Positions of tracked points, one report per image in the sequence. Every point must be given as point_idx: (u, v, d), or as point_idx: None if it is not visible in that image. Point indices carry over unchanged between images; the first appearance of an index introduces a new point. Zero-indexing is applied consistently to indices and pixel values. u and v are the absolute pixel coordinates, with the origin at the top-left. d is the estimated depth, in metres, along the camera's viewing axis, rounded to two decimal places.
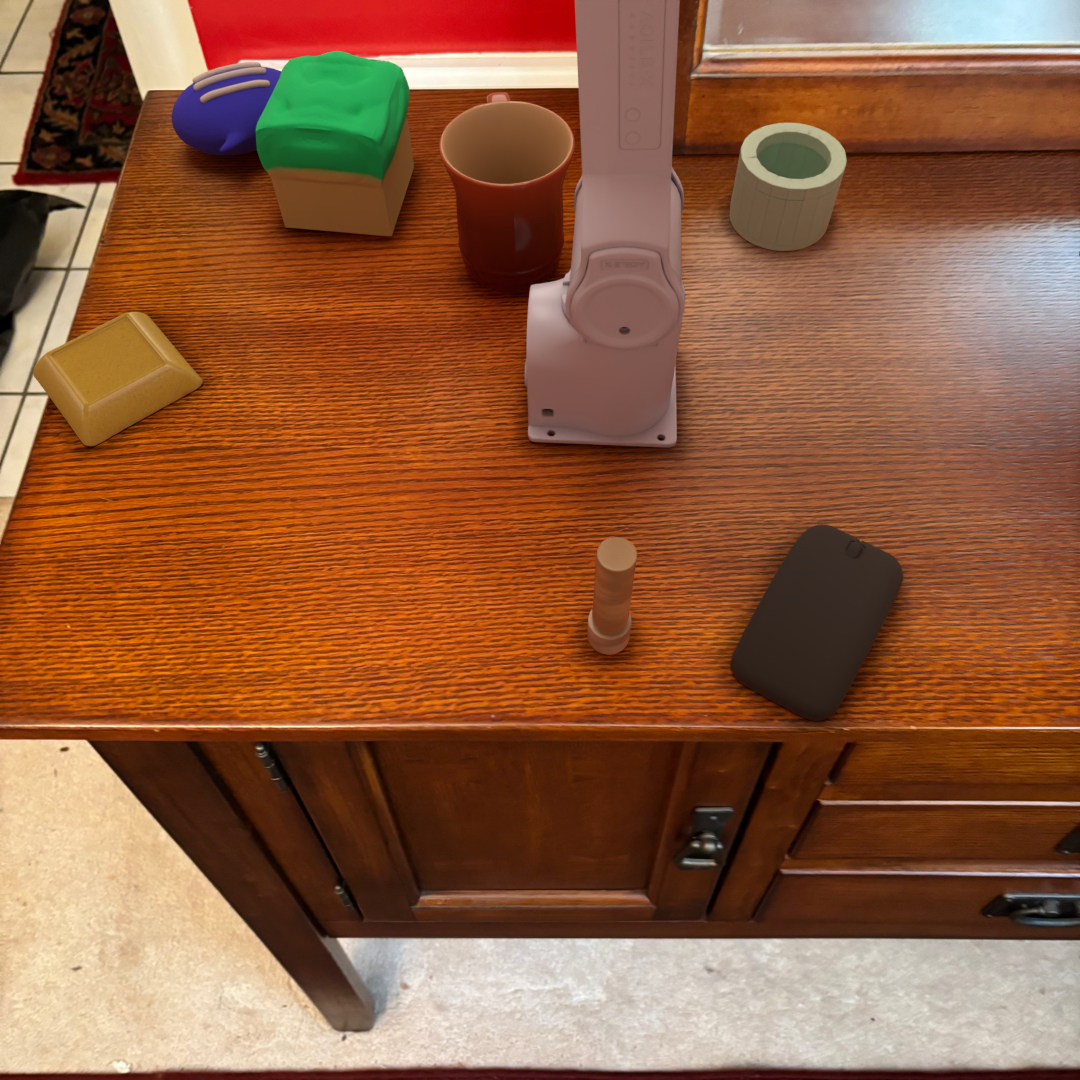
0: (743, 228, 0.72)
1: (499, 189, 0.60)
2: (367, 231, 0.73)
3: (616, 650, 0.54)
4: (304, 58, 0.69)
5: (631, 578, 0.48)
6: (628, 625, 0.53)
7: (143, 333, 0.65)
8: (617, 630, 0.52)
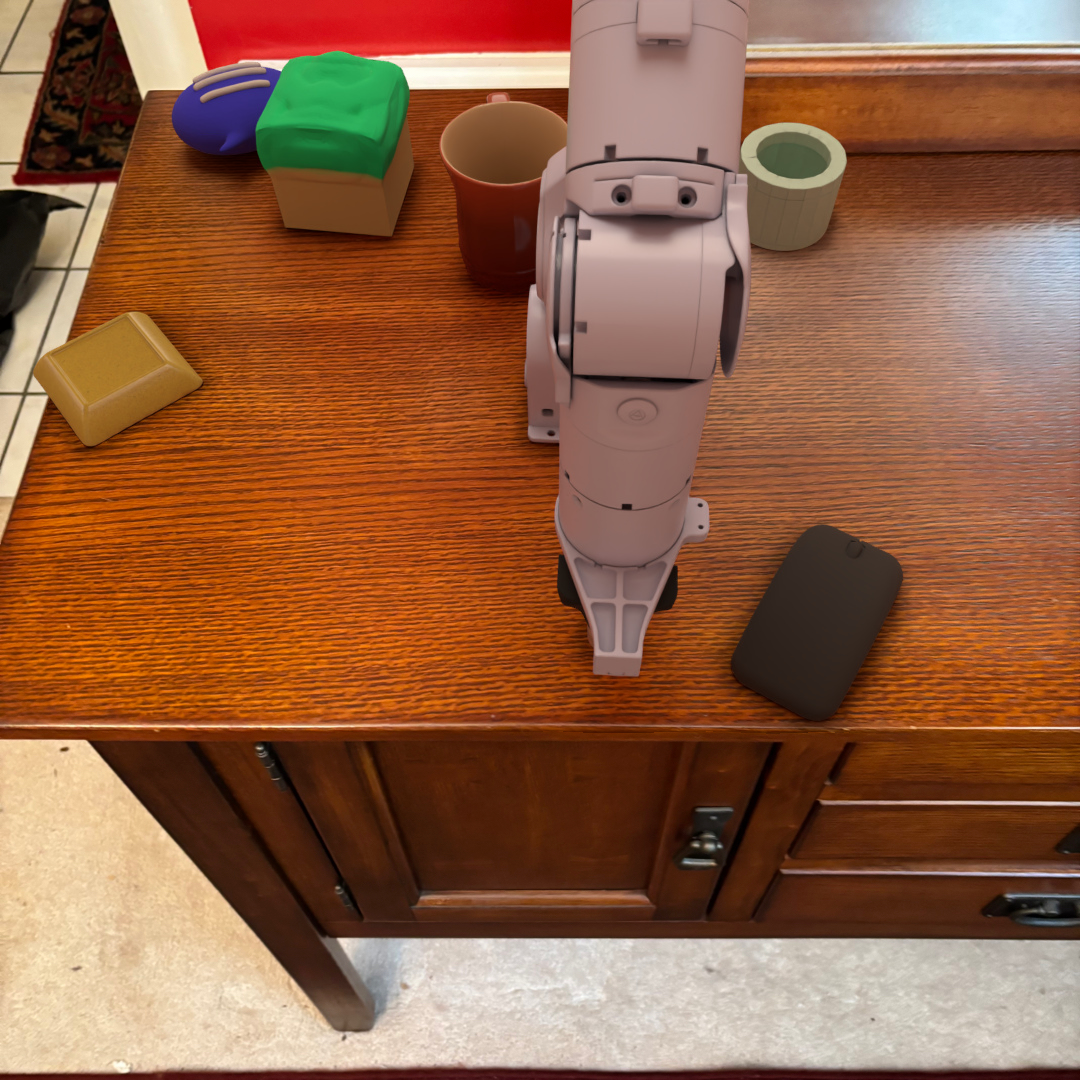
0: None
1: (499, 189, 0.60)
2: (367, 231, 0.73)
3: None
4: (304, 58, 0.69)
5: None
6: None
7: (143, 333, 0.65)
8: None
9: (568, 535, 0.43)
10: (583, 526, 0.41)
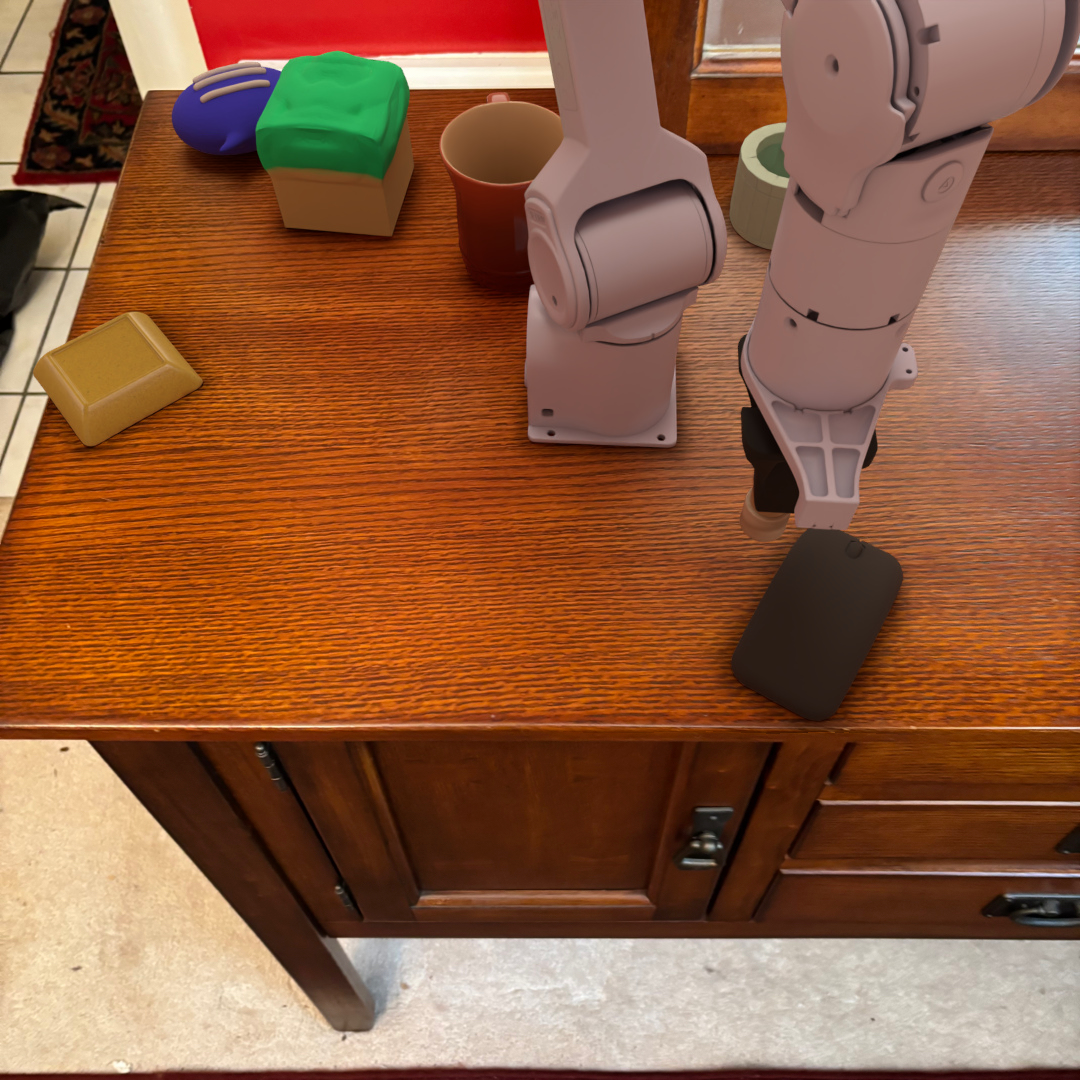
0: (743, 228, 0.72)
1: (499, 189, 0.60)
2: (367, 231, 0.73)
3: (774, 536, 0.50)
4: (304, 58, 0.69)
5: None
6: None
7: (143, 333, 0.65)
8: None
9: (764, 377, 0.39)
10: (791, 358, 0.37)
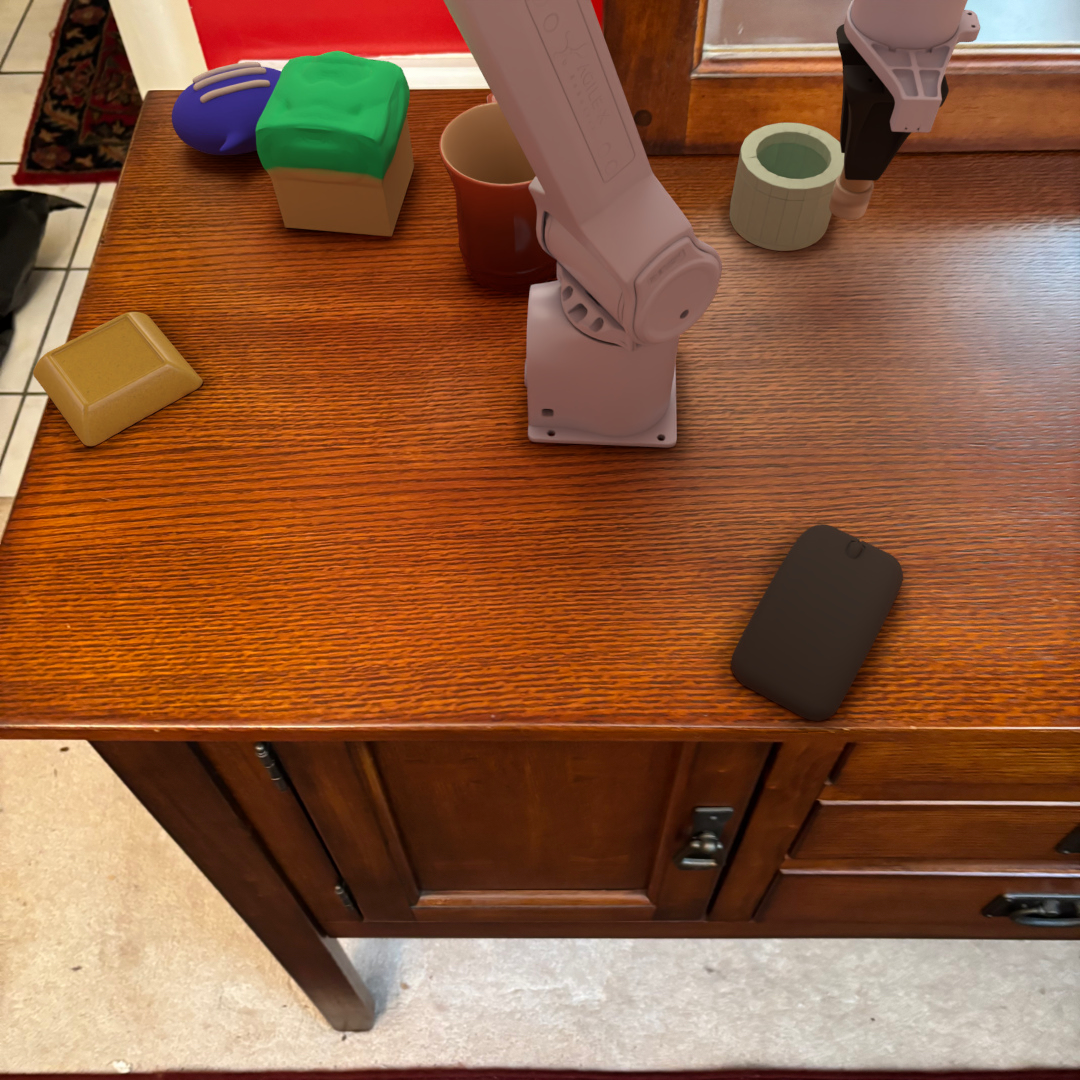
0: (743, 228, 0.72)
1: (499, 189, 0.60)
2: (367, 231, 0.73)
3: (858, 213, 0.62)
4: (304, 58, 0.69)
5: None
6: (871, 186, 0.62)
7: (143, 333, 0.65)
8: (865, 185, 0.61)
9: (865, 27, 0.52)
10: None
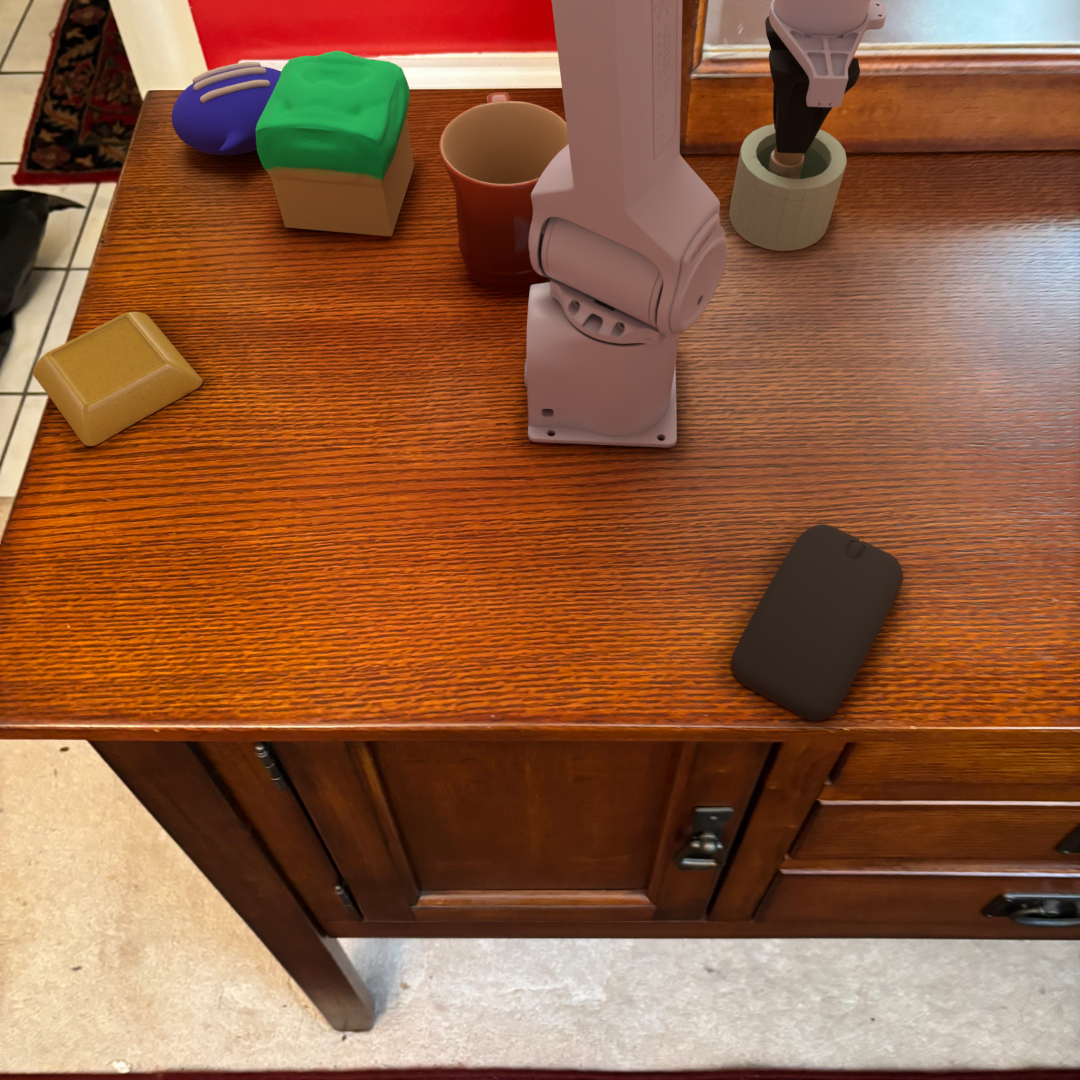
0: (743, 228, 0.72)
1: (499, 189, 0.60)
2: (367, 231, 0.73)
3: None
4: (304, 58, 0.69)
5: None
6: (802, 159, 0.69)
7: (143, 333, 0.65)
8: (795, 157, 0.69)
9: (785, 16, 0.59)
10: None
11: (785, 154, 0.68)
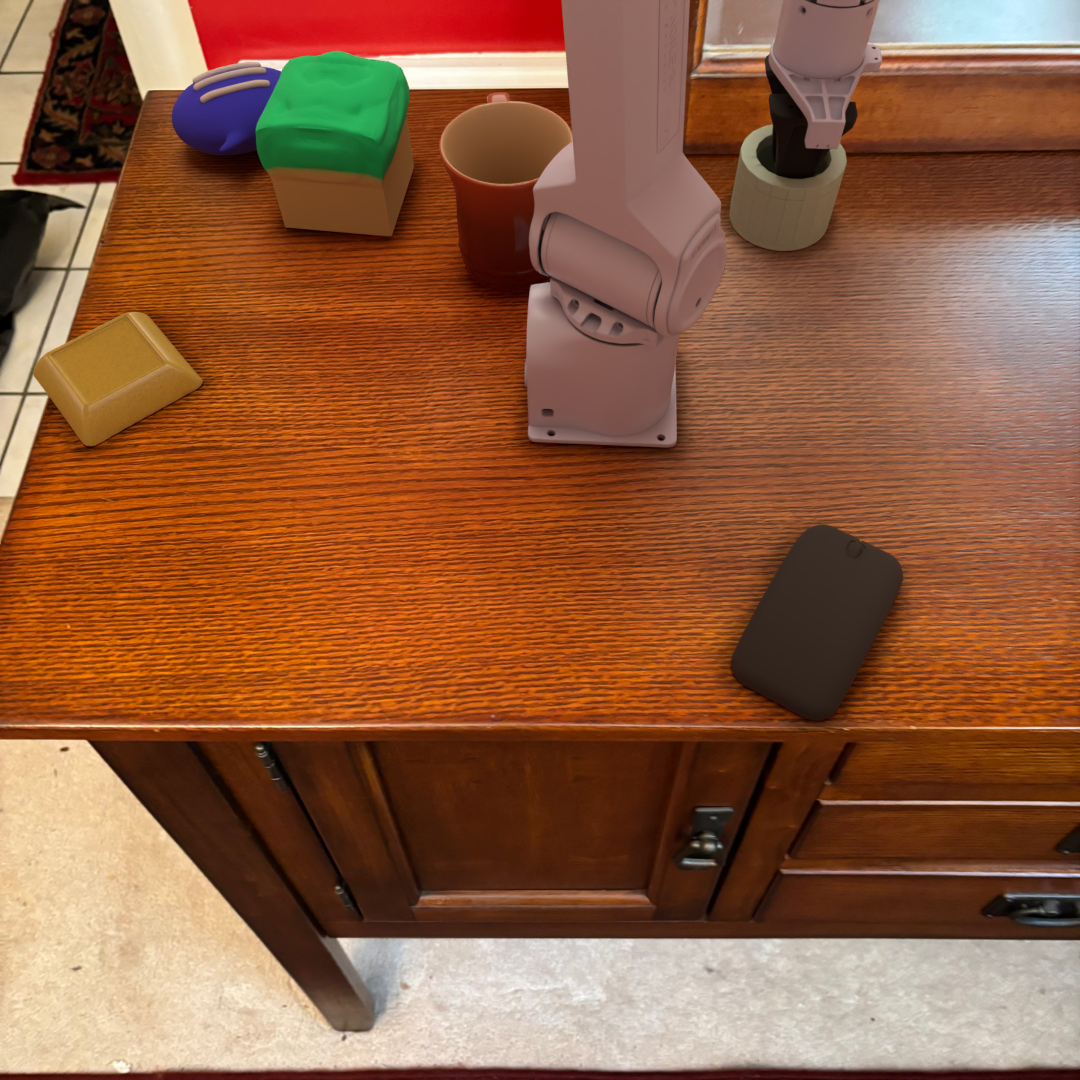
0: (743, 228, 0.72)
1: (499, 189, 0.60)
2: (367, 231, 0.73)
3: None
4: (304, 58, 0.69)
5: None
6: None
7: (143, 333, 0.65)
8: None
9: (784, 60, 0.61)
10: (802, 38, 0.59)
11: None
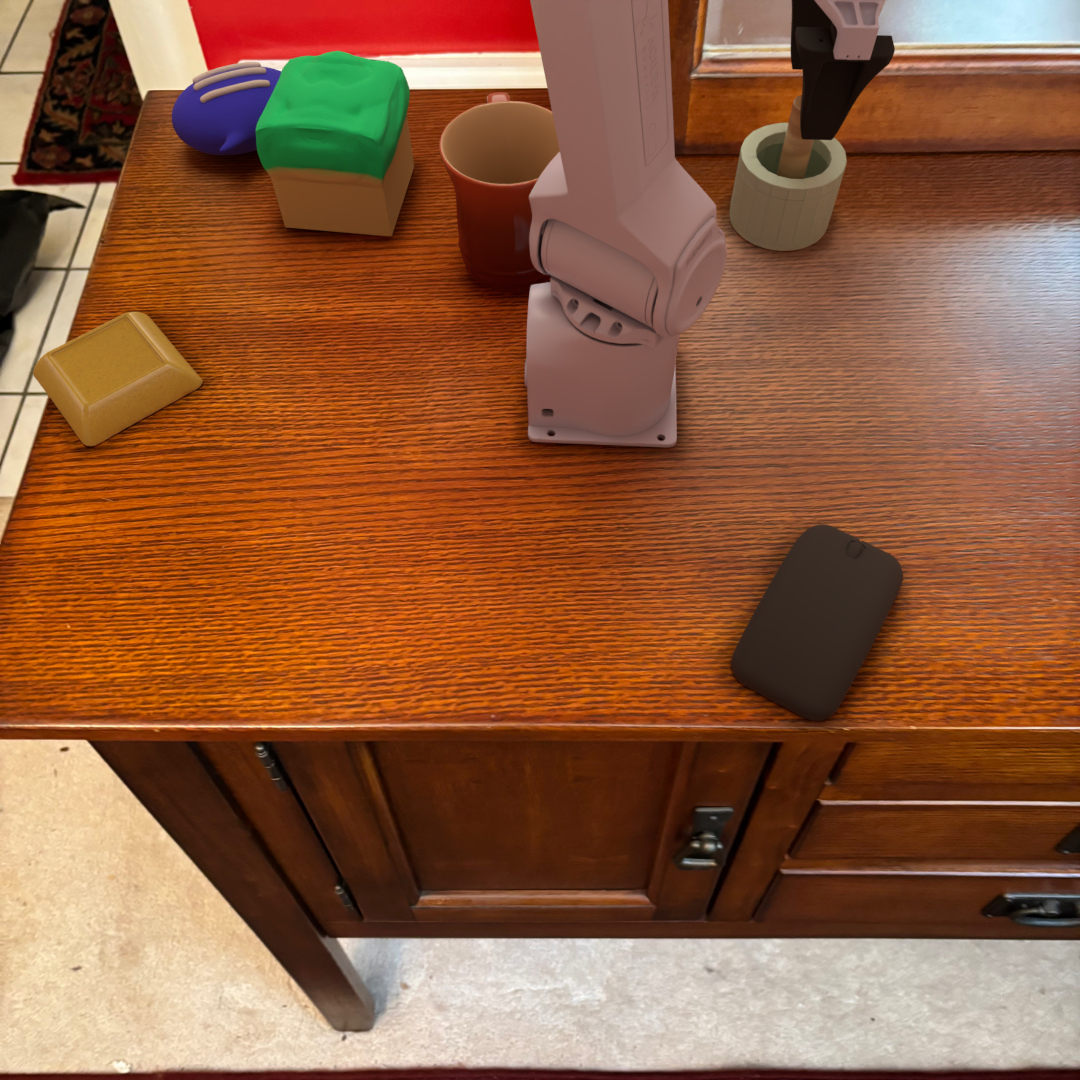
0: (743, 228, 0.72)
1: (499, 189, 0.60)
2: (367, 231, 0.73)
3: None
4: (304, 58, 0.69)
5: None
6: None
7: (143, 333, 0.65)
8: None
9: None
10: None
11: None
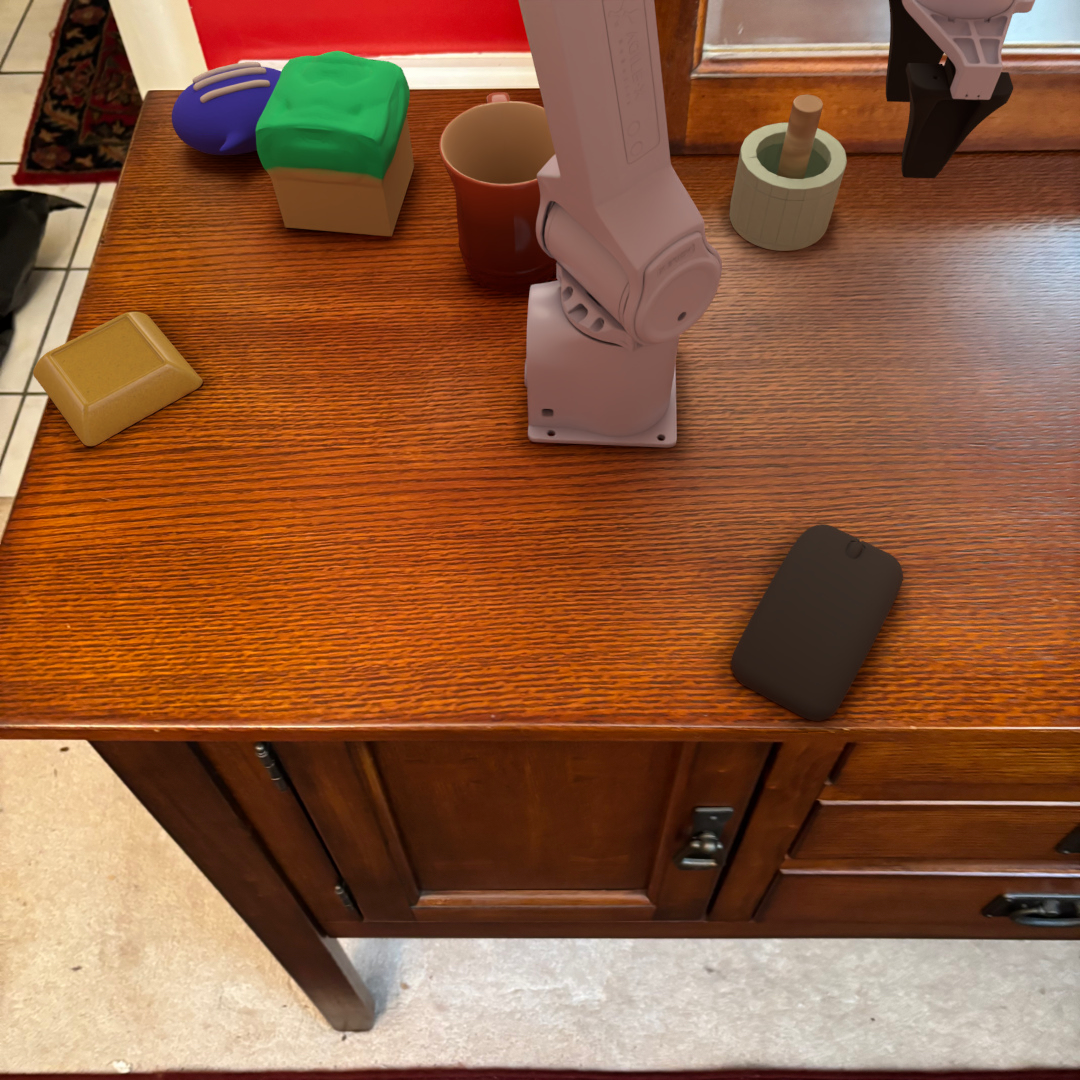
0: (743, 228, 0.72)
1: (499, 189, 0.60)
2: (367, 231, 0.73)
3: None
4: (304, 58, 0.69)
5: (816, 126, 0.66)
6: None
7: (143, 333, 0.65)
8: None
9: None
10: None
11: None
